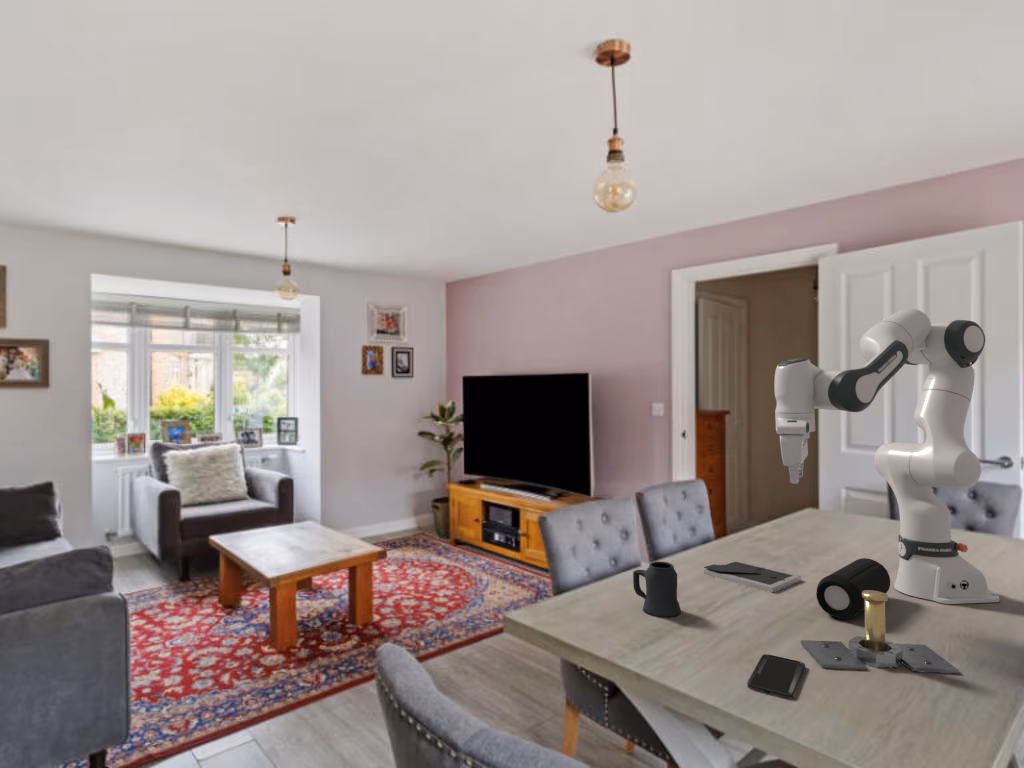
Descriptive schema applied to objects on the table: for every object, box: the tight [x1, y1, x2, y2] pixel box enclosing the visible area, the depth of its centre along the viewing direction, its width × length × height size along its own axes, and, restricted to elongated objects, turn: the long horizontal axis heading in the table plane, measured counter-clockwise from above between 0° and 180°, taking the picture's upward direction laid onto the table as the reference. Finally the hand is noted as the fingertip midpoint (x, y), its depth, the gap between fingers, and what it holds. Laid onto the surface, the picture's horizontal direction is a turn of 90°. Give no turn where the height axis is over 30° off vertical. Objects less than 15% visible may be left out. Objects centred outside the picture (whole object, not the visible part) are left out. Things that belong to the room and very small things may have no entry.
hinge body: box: [800, 636, 959, 675], centre depth 120 cm, size 24×11×2 cm, turn 84°
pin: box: [862, 590, 889, 652], centre depth 120 cm, size 4×4×13 cm
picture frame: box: [703, 559, 802, 593], centre depth 171 cm, size 16×3×21 cm
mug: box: [632, 561, 682, 619], centre depth 147 cm, size 12×9×11 cm
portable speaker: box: [815, 557, 891, 619], centre depth 148 cm, size 26×10×10 cm, turn 132°
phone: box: [747, 653, 806, 700], centre depth 112 cm, size 8×1×15 cm
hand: (796, 480), depth 148 cm, fingers open, 8 cm apart
